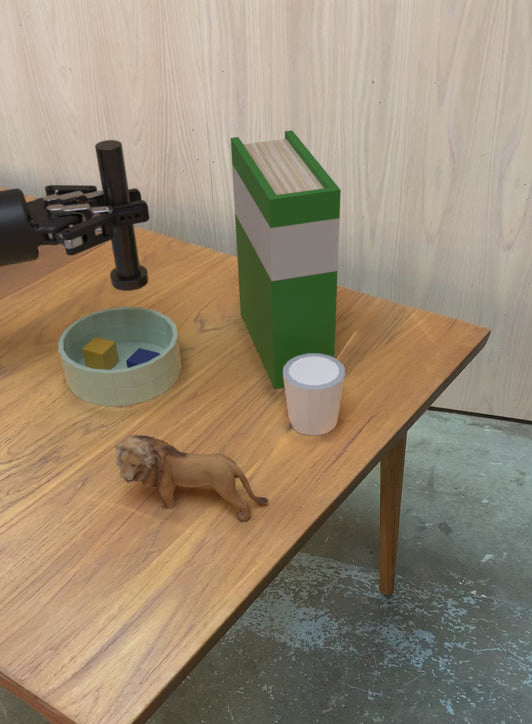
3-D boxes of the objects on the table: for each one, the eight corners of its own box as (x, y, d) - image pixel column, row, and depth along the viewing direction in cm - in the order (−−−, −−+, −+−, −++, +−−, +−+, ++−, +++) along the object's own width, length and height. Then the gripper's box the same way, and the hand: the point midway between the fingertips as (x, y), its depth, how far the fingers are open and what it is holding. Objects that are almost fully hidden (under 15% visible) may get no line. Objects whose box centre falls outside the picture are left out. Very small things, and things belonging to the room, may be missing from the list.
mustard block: (86, 369, 98) (81, 348, 96) (99, 356, 100) (95, 336, 97) (106, 374, 97) (102, 354, 95) (119, 361, 99) (115, 341, 96)
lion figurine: (122, 524, 79) (107, 458, 72) (129, 487, 82) (116, 421, 76) (268, 522, 78) (265, 455, 72) (268, 485, 82) (265, 419, 76)
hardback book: (240, 318, 106) (230, 137, 90) (293, 309, 108) (292, 130, 91) (274, 393, 94) (269, 199, 77) (333, 382, 95) (340, 189, 79)
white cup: (277, 434, 88) (276, 384, 83) (290, 398, 93) (289, 349, 88) (337, 442, 87) (339, 392, 82) (347, 405, 92) (350, 355, 87)
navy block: (129, 380, 95) (125, 360, 93) (142, 367, 97) (139, 347, 95) (150, 386, 94) (147, 366, 92) (163, 373, 96) (160, 352, 94)
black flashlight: (108, 276, 94) (83, 140, 83) (143, 269, 95) (124, 134, 84) (115, 294, 91) (91, 155, 80) (152, 286, 92) (133, 148, 81)
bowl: (44, 393, 95) (33, 355, 91) (109, 334, 104) (102, 297, 101) (143, 422, 90) (137, 383, 87) (202, 357, 100) (198, 320, 96)
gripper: (-18, 225, 76) (155, 195, 80) (-29, 172, 86) (125, 148, 90) (2, 294, 81) (163, 262, 85) (-11, 236, 91) (134, 211, 95)
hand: (143, 204), depth 87 cm, fingers closed on black flashlight, 3 cm apart
